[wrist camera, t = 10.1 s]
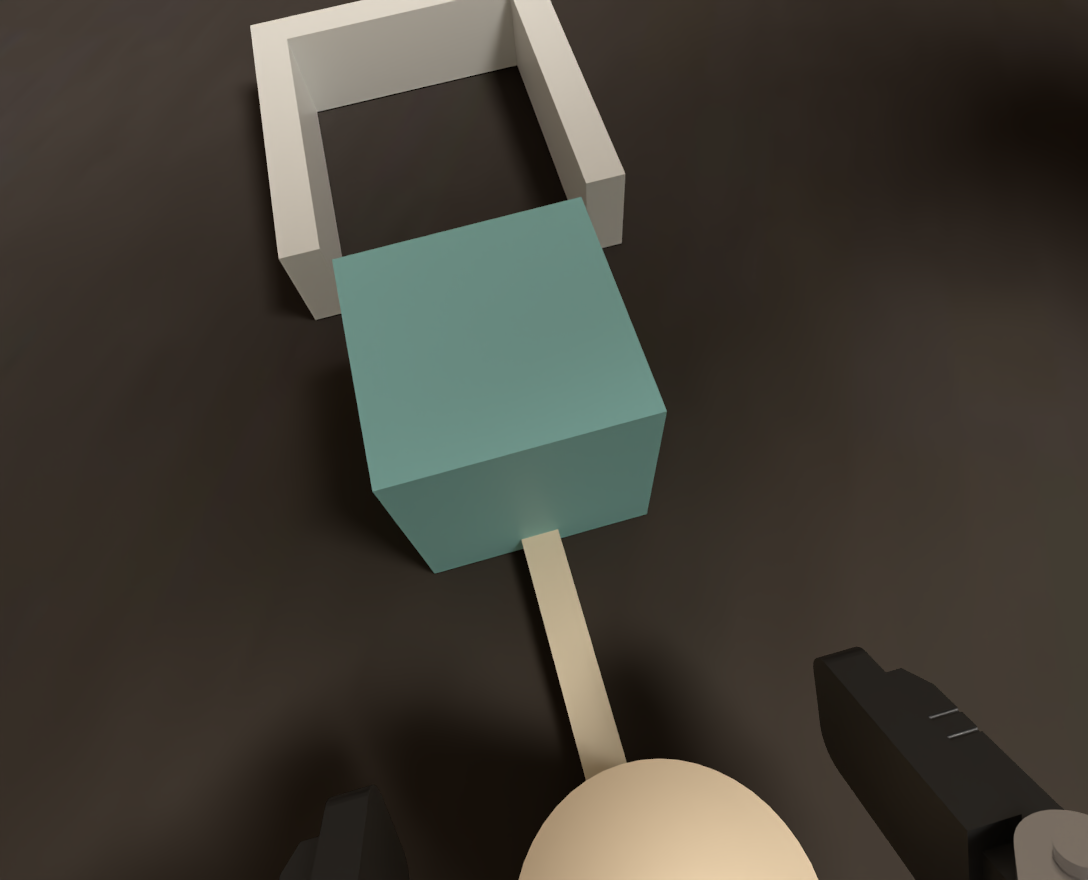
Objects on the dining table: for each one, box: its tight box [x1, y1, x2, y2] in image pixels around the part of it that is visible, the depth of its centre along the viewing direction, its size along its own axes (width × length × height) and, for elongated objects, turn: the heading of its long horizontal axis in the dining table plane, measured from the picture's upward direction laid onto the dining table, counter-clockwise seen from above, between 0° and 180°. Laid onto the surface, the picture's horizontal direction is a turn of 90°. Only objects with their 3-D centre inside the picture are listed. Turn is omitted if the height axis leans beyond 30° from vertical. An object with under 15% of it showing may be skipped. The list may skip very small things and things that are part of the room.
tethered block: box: [332, 197, 818, 880], centre depth 14 cm, size 6×15×10 cm, turn 15°
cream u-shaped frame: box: [250, 0, 625, 320], centre depth 24 cm, size 10×11×3 cm
